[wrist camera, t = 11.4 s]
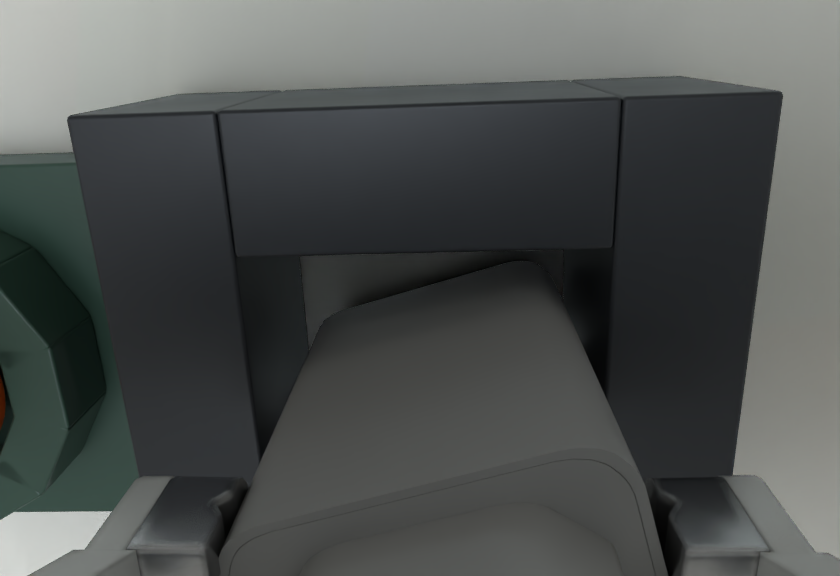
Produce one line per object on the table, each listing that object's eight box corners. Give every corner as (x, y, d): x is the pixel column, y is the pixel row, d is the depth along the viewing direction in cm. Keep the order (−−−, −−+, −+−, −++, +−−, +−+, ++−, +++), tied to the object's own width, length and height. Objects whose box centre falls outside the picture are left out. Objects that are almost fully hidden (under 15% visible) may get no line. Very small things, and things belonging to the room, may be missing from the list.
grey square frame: (682, 75, 16) (786, 90, 11) (645, 507, 19) (709, 657, 15) (176, 93, 16) (63, 116, 11) (237, 510, 20) (172, 656, 15)
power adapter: (306, 321, 15) (-88, 1112, 4) (546, 251, 15) (890, 975, 3) (353, 438, 16) (143, 1339, 5) (580, 378, 16) (939, 1279, 4)
